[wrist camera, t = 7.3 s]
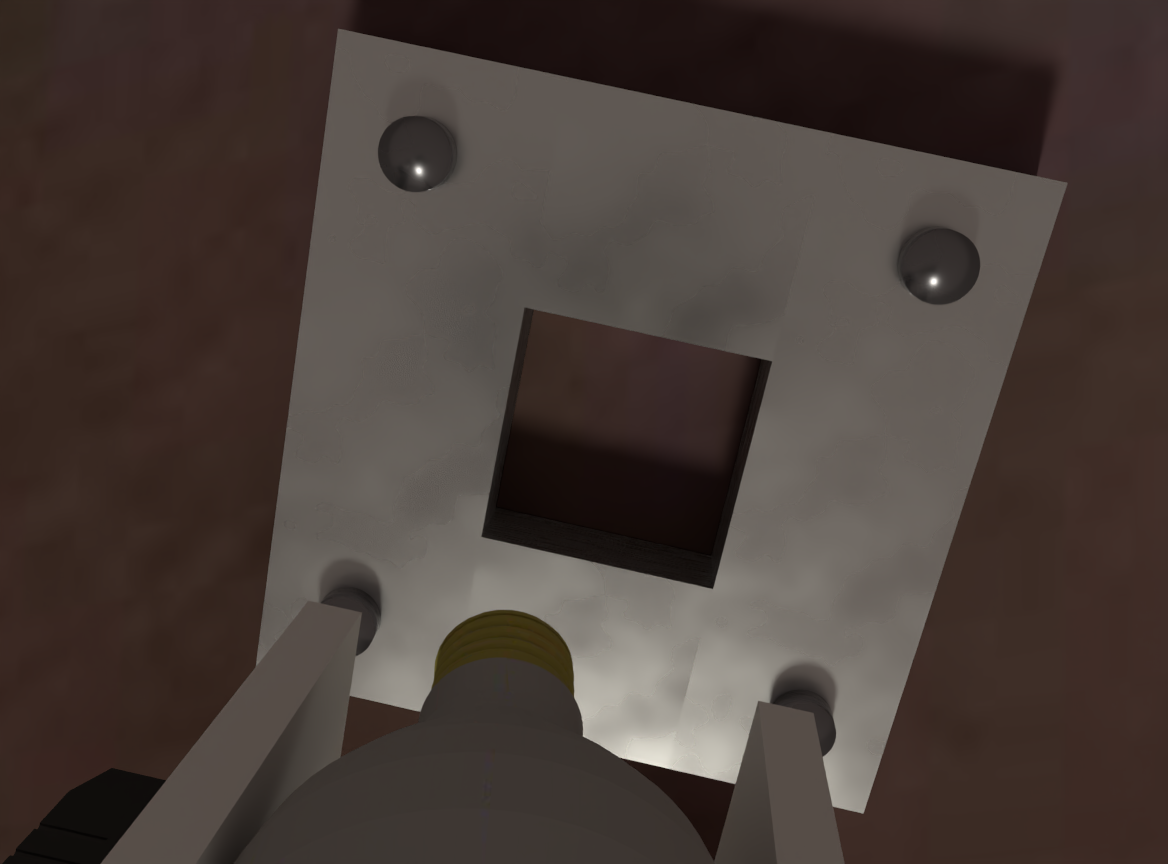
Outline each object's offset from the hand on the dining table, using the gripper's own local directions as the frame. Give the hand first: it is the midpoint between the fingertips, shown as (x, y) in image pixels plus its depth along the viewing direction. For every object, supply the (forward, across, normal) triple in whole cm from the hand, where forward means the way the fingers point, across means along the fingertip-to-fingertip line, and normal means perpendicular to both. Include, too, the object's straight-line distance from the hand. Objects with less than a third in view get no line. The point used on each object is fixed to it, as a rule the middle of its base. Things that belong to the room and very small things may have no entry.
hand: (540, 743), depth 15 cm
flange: (+17, 0, 0) cm, 17 cm away
